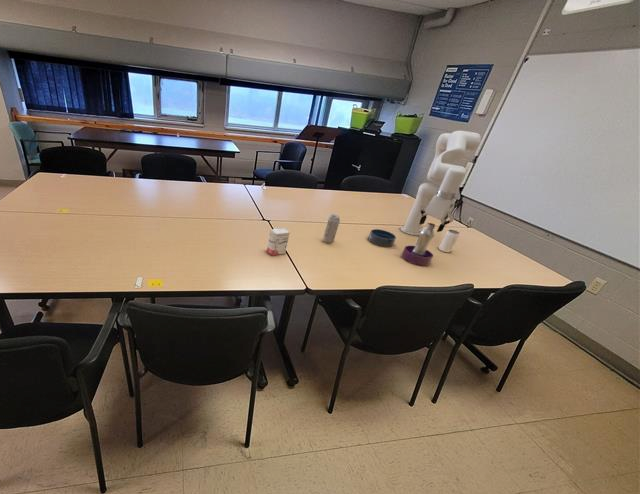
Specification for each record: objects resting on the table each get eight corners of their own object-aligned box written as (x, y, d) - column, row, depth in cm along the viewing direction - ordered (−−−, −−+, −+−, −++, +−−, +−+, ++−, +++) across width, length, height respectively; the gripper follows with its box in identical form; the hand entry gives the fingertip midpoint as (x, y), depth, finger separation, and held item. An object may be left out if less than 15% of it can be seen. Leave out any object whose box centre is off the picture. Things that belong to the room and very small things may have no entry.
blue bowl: (378, 235, 195) (380, 228, 193) (397, 245, 186) (401, 237, 183) (363, 238, 188) (365, 230, 186) (382, 248, 179) (385, 240, 176)
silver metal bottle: (423, 262, 168) (440, 227, 157) (410, 260, 169) (426, 225, 158) (420, 257, 173) (436, 223, 163) (407, 255, 174) (423, 220, 163)
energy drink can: (333, 244, 176) (341, 219, 167) (322, 242, 176) (329, 217, 168) (332, 240, 181) (340, 215, 173) (322, 238, 181) (329, 213, 173)
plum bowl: (411, 251, 180) (414, 244, 177) (434, 263, 170) (438, 255, 167) (396, 255, 173) (399, 247, 170) (419, 268, 163) (423, 259, 160)
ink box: (271, 255, 155) (275, 233, 149) (266, 251, 159) (270, 229, 152) (285, 253, 159) (290, 232, 153) (280, 249, 163) (284, 228, 156)
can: (448, 249, 190) (458, 230, 183) (451, 253, 184) (461, 234, 178) (437, 246, 191) (446, 228, 185) (439, 250, 186) (448, 232, 179)
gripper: (467, 200, 148) (450, 233, 158) (433, 188, 160) (418, 220, 169) (459, 201, 145) (442, 235, 154) (424, 189, 156) (410, 222, 166)
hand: (430, 227), depth 162 cm, fingers open, 9 cm apart
